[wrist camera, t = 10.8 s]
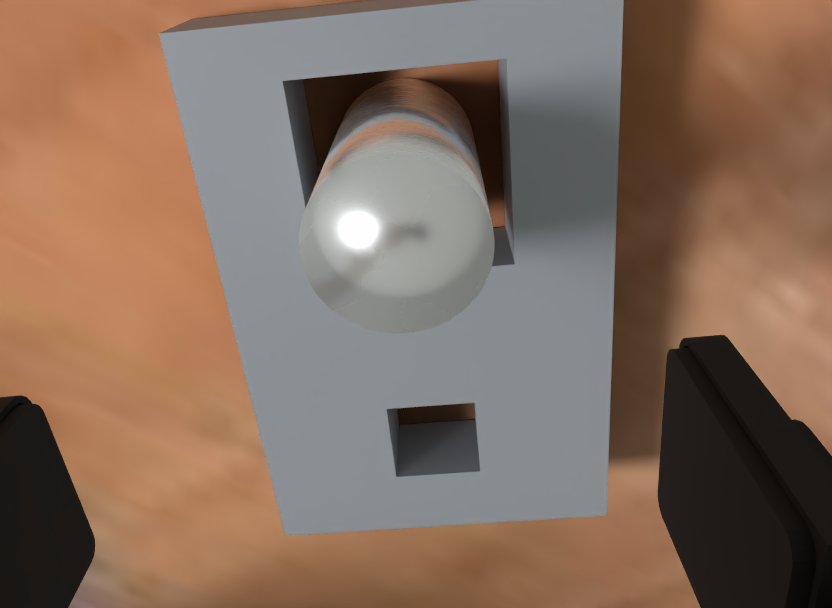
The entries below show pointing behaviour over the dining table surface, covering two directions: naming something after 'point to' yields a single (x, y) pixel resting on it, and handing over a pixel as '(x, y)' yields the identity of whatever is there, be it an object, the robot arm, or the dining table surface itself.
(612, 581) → the dining table surface
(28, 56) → the dining table surface
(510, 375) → the grey hole board
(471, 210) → the cylinder
